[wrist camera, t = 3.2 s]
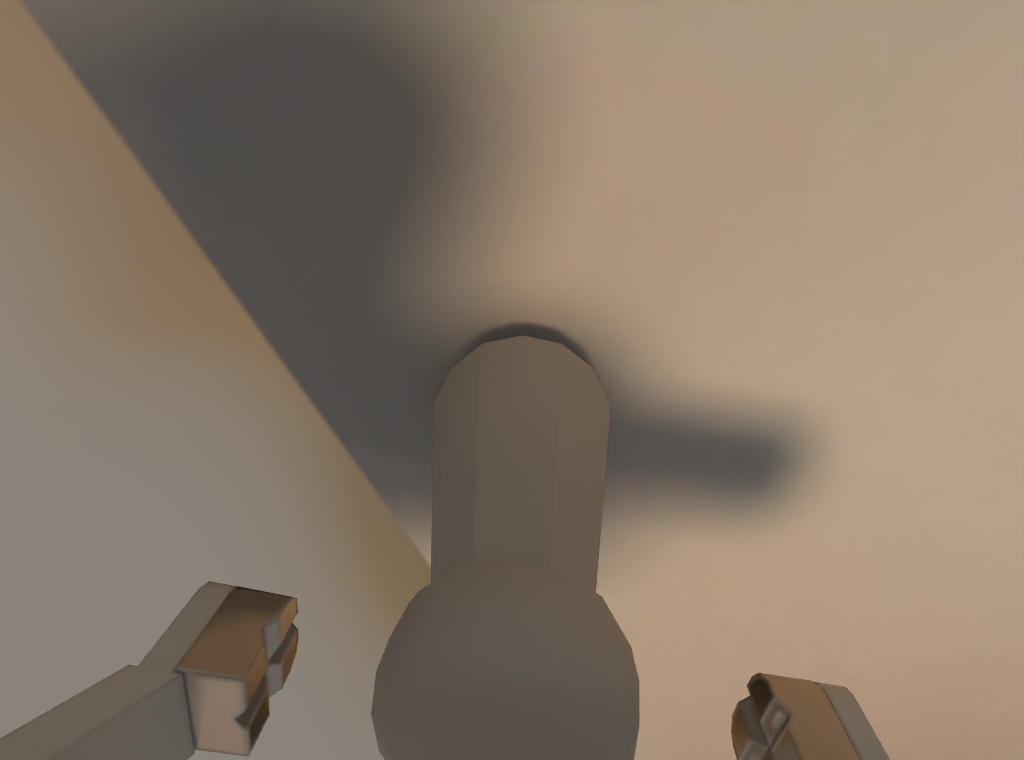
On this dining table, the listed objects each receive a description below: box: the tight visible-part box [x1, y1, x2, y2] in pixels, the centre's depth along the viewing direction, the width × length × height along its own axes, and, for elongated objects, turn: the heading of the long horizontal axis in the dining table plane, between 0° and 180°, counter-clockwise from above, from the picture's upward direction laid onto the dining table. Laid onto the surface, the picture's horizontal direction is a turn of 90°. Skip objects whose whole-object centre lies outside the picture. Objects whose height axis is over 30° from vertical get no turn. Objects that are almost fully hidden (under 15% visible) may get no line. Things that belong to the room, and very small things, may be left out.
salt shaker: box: [371, 335, 639, 760], centre depth 13 cm, size 6×6×13 cm
